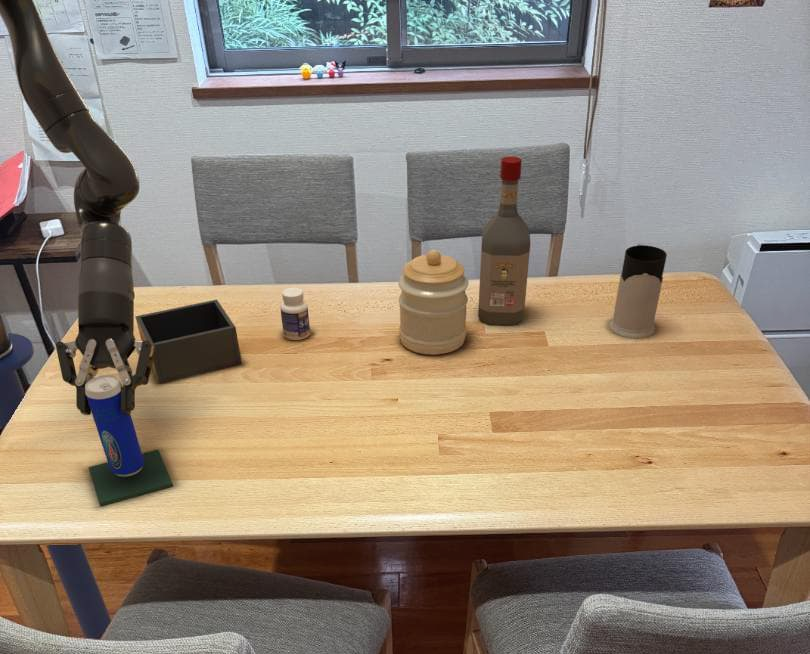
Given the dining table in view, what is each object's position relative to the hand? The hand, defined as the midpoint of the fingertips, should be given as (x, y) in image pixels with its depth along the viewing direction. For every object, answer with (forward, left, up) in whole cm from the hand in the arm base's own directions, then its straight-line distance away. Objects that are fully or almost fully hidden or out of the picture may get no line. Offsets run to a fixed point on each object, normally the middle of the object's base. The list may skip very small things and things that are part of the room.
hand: (105, 413), depth 116 cm
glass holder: (+102, +9, -13) cm, 103 cm away
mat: (+1, +2, -13) cm, 13 cm away
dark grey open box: (+19, +34, -13) cm, 41 cm away
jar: (+63, +20, -13) cm, 67 cm away
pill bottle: (+40, +34, -13) cm, 54 cm away
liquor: (+80, +23, -13) cm, 84 cm away
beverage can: (+1, +2, -11) cm, 11 cm away
